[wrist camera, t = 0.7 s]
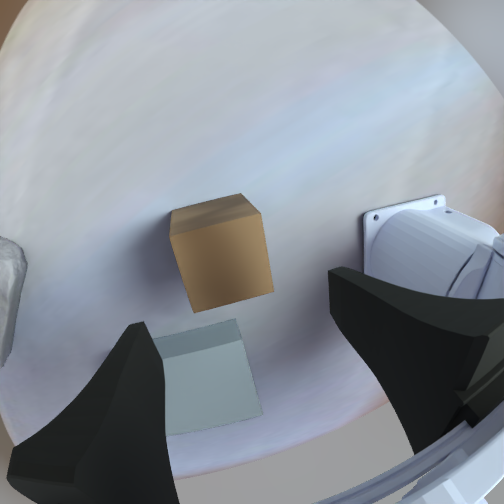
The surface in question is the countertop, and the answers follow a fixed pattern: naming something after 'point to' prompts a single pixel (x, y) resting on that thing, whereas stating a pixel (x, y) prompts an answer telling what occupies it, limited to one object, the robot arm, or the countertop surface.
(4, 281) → the stone block
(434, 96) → the countertop surface
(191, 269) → the walnut block
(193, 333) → the base slab
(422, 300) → the robot arm
